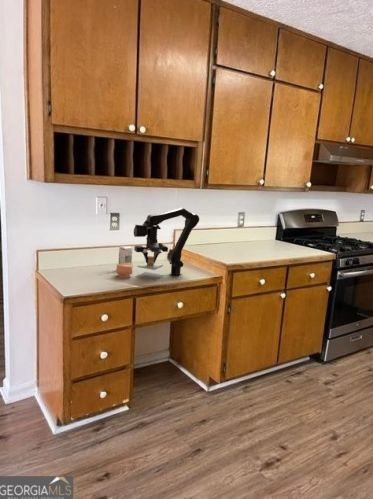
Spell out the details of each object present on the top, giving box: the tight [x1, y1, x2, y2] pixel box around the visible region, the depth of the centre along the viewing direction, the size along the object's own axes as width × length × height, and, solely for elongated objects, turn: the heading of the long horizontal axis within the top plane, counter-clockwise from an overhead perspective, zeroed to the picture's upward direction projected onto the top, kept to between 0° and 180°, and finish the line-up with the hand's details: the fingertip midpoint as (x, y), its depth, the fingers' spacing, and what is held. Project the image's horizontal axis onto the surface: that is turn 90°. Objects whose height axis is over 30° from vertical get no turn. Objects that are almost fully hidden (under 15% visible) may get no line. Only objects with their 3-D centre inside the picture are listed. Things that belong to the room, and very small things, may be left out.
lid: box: [136, 255, 164, 271], centre depth 218 cm, size 11×11×6 cm
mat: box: [134, 271, 165, 281], centre depth 219 cm, size 13×13×1 cm
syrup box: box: [118, 245, 133, 265], centre depth 230 cm, size 6×6×14 cm
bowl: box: [115, 263, 133, 279], centre depth 215 cm, size 9×9×7 cm
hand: (150, 263), depth 218 cm, fingers closed on lid, 4 cm apart
